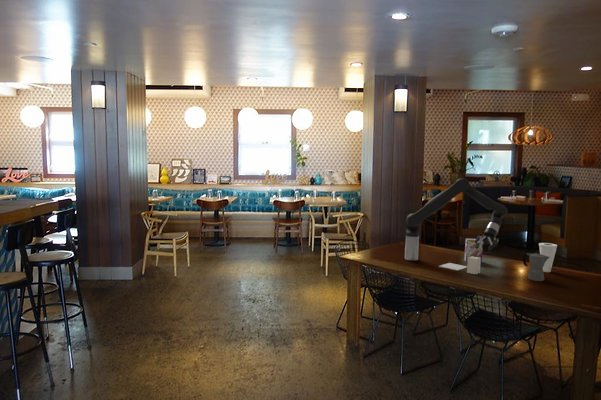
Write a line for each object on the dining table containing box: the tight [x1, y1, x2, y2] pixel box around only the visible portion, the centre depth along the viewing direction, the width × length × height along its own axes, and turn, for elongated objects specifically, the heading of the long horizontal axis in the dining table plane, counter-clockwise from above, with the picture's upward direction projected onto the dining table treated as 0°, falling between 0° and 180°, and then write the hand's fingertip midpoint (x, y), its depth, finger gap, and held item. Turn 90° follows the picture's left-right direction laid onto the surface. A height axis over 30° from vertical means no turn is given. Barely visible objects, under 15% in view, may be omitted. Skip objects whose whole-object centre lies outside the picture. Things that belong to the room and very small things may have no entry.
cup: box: [538, 242, 558, 273], centre depth 295 cm, size 11×11×18 cm
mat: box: [438, 262, 467, 272], centre depth 306 cm, size 14×14×1 cm
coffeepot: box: [521, 250, 549, 282], centre depth 277 cm, size 15×9×18 cm, turn 54°
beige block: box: [466, 256, 481, 275], centre depth 290 cm, size 6×6×10 cm
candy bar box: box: [464, 238, 484, 263], centre depth 320 cm, size 11×5×16 cm, turn 84°
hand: (482, 249), depth 296 cm, fingers open, 8 cm apart
